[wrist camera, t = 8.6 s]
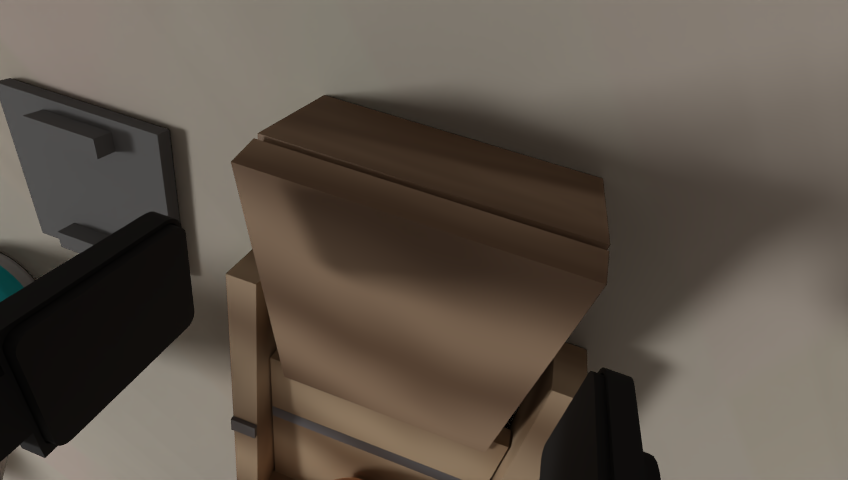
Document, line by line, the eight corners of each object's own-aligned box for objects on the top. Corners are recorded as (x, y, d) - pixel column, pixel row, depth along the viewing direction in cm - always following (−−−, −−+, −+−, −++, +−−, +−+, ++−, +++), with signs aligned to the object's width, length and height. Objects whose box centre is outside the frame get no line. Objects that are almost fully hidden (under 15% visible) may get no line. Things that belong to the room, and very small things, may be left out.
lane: (263, 238, 19) (176, 318, 15) (586, 349, 17) (589, 473, 13) (262, 464, 28) (209, 550, 24) (470, 548, 27) (451, 656, 23)
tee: (9, 78, 18) (-29, 86, 17) (168, 129, 17) (140, 142, 16) (54, 226, 22) (26, 241, 21) (186, 273, 21) (163, 292, 20)
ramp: (324, 94, 15) (230, 149, 11) (602, 178, 14) (613, 272, 10) (304, 347, 22) (242, 438, 18) (491, 416, 21) (470, 530, 17)
